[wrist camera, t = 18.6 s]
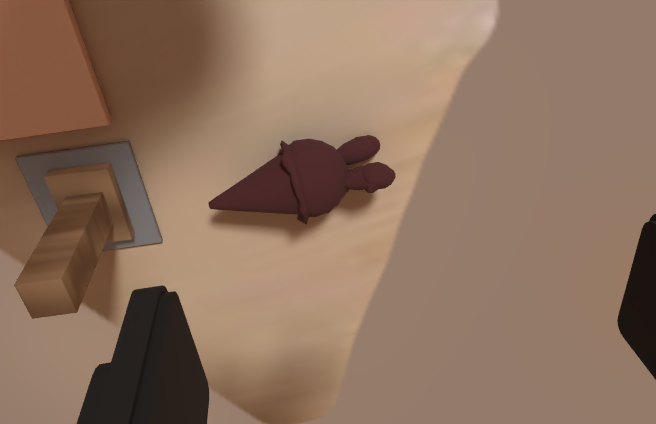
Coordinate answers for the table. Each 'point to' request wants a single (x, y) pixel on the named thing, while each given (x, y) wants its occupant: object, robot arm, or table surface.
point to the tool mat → (125, 175)
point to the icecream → (307, 179)
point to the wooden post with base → (73, 238)
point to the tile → (45, 71)
